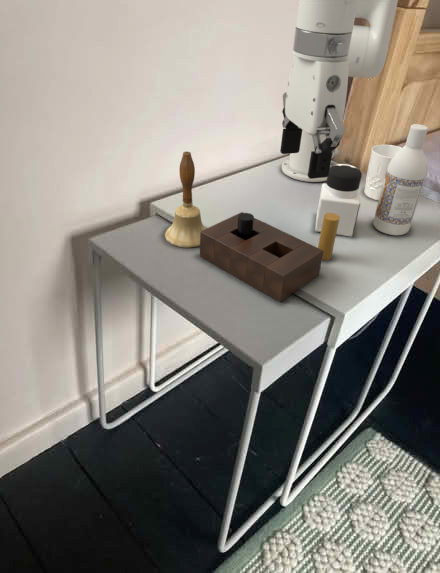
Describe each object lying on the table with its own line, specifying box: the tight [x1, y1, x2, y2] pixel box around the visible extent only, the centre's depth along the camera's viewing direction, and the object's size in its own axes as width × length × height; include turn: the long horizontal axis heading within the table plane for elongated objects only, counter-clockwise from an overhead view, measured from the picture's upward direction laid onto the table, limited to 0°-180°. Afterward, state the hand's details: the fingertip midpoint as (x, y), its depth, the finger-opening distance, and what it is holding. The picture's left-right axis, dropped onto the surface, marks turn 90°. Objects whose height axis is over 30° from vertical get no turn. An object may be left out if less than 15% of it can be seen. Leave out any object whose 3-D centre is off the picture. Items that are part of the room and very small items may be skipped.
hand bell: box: [164, 151, 207, 249], centre depth 87 cm, size 8×8×16 cm
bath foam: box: [372, 123, 429, 236], centre depth 92 cm, size 7×7×20 cm
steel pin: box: [237, 212, 255, 241], centre depth 84 cm, size 3×3×8 cm
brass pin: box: [317, 213, 340, 262], centre depth 86 cm, size 3×3×8 cm
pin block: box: [199, 211, 324, 303], centre depth 83 cm, size 18×11×5 cm, turn 47°
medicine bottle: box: [314, 163, 363, 237], centre depth 94 cm, size 7×7×12 cm
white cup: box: [363, 144, 403, 201], centre depth 107 cm, size 8×8×10 cm
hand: (302, 164), depth 77 cm, fingers open, 9 cm apart
